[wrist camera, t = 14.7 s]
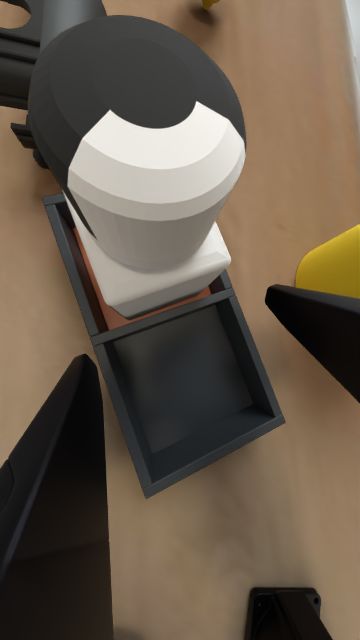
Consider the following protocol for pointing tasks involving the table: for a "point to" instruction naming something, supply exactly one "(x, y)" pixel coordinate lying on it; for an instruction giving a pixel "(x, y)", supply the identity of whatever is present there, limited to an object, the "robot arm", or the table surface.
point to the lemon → (208, 3)
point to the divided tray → (173, 370)
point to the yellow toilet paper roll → (333, 266)
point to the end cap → (35, 52)
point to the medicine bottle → (140, 155)
